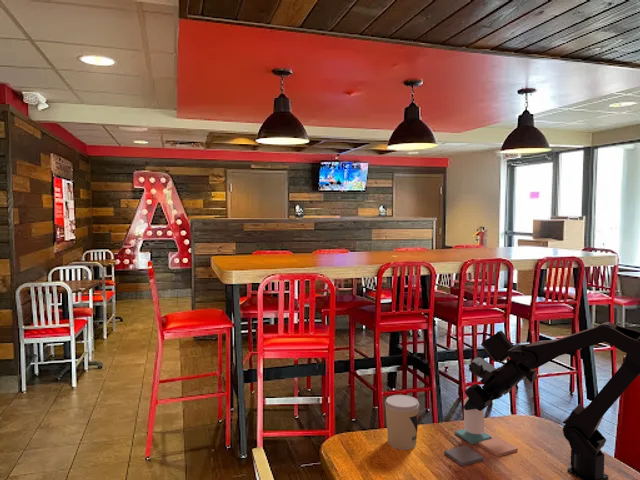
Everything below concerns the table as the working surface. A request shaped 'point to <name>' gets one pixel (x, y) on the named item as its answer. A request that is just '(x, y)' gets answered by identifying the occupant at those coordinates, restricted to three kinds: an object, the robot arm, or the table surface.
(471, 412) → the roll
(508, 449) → the terracotta tile
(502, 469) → the table surface
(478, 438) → the teal tile
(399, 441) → the coffee cup
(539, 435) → the table surface
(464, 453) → the charcoal tile
